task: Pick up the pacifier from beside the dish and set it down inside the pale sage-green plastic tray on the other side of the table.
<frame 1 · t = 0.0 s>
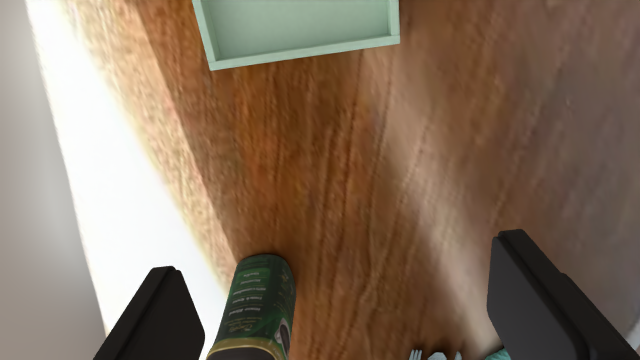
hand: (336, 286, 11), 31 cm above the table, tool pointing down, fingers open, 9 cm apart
coffee jar: (267, 278, 51), on the table
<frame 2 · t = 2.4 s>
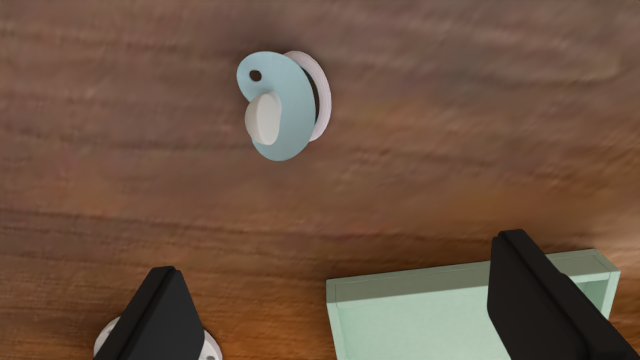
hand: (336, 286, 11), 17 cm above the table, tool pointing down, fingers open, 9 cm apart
tray: (456, 337, 36), on the table
pacifier: (289, 98, 26), on the table
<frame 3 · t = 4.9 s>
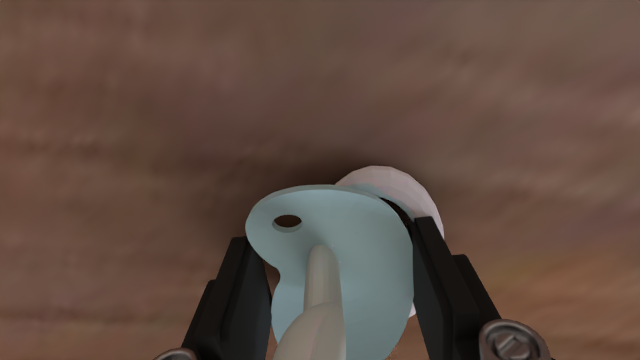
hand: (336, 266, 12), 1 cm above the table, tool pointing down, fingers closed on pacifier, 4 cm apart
pacifier: (352, 244, 13), on the table, touching gripper
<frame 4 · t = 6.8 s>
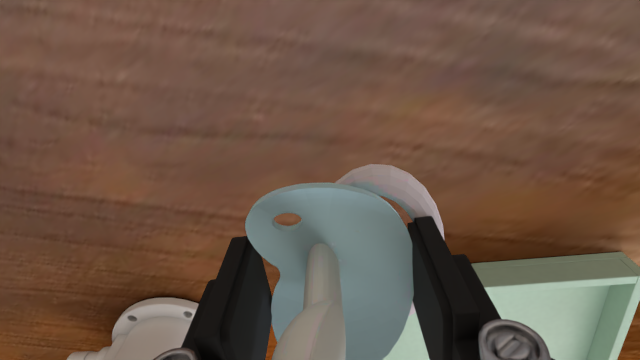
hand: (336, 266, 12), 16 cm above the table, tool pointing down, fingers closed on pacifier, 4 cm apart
tray: (473, 334, 36), on the table
pacifier: (352, 243, 13), point 15 cm above the table, touching gripper
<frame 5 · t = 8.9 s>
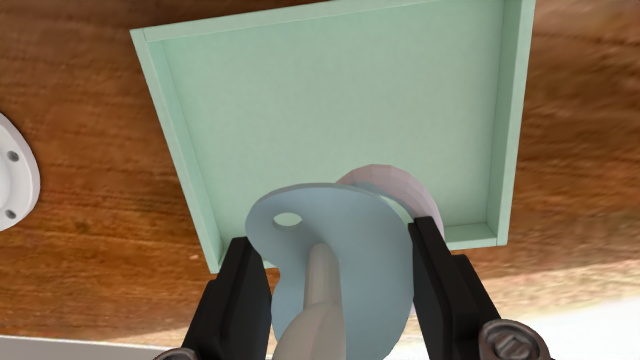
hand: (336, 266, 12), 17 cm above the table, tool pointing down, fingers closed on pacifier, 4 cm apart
tray: (341, 137, 27), on the table
pacifier: (352, 243, 13), point 16 cm above the table, touching gripper
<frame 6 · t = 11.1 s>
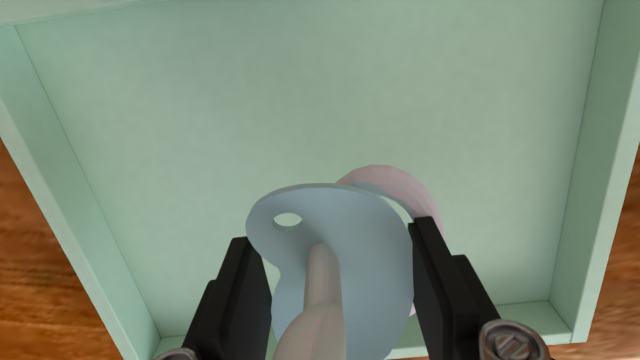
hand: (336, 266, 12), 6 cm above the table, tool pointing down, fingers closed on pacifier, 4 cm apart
tray: (328, 179, 18), on the table
pacifier: (352, 243, 13), point 5 cm above the table, touching gripper
when the fingers open (2 cm above the table, at t = 12.8 s): pacifier stays where it is, resting on tray.
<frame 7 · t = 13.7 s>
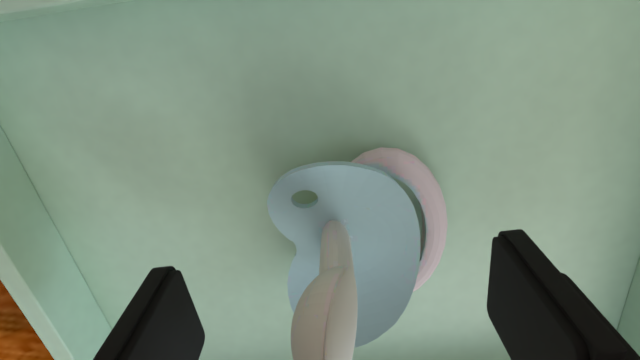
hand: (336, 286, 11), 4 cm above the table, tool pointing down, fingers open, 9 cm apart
tray: (344, 217, 14), on the table
pacifier: (361, 222, 14), point 1 cm above the table, touching tray
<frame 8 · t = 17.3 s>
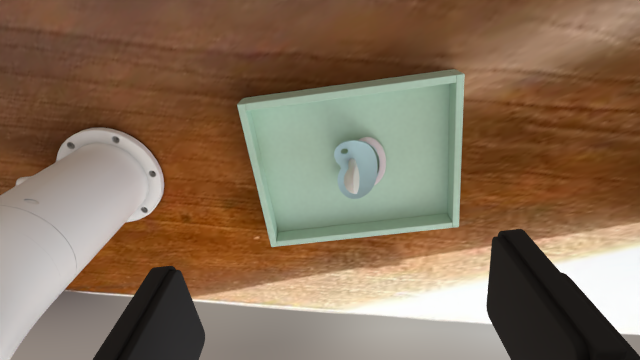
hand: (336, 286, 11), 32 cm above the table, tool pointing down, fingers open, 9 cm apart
tray: (354, 160, 44), on the table
pacifier: (360, 161, 43), point 1 cm above the table, touching tray
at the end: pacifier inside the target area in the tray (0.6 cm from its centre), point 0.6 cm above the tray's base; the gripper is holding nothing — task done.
